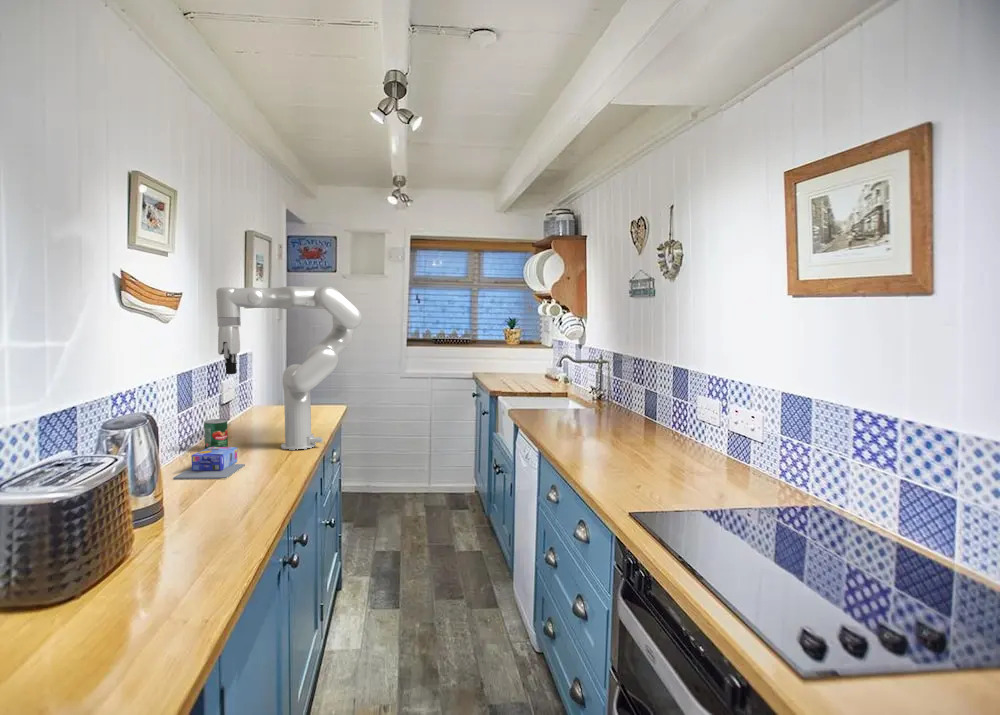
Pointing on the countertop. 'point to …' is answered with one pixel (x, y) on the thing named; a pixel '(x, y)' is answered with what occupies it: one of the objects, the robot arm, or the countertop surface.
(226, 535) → the countertop surface
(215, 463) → the ink cartridge box
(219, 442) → the canned tomato
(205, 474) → the mat
